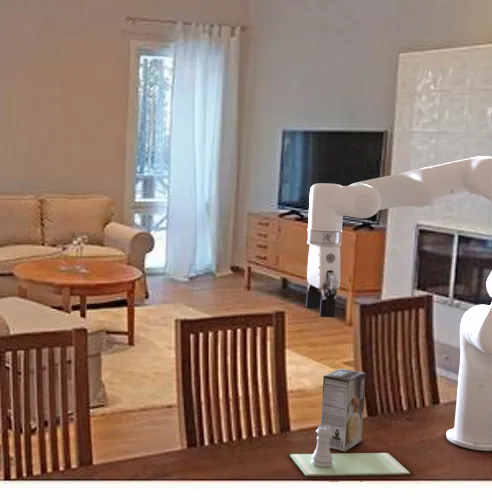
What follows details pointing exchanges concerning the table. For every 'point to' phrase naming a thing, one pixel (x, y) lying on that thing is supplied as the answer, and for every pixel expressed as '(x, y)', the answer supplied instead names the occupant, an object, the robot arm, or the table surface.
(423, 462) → the table surface
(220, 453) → the table surface
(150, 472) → the table surface
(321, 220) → the robot arm
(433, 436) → the table surface
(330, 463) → the rook chess piece
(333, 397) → the coffee box
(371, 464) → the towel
